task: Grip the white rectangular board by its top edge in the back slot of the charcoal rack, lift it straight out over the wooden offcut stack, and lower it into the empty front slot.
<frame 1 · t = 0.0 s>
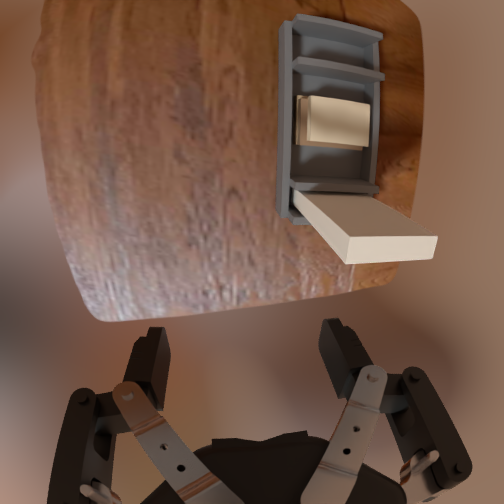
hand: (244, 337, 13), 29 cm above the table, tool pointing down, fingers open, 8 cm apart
white rectangular board: (323, 194, 40), point 1 cm above the table, touching rack
rack: (324, 119, 36), on the table
offcuts: (327, 122, 35), point 1 cm above the table, touching rack
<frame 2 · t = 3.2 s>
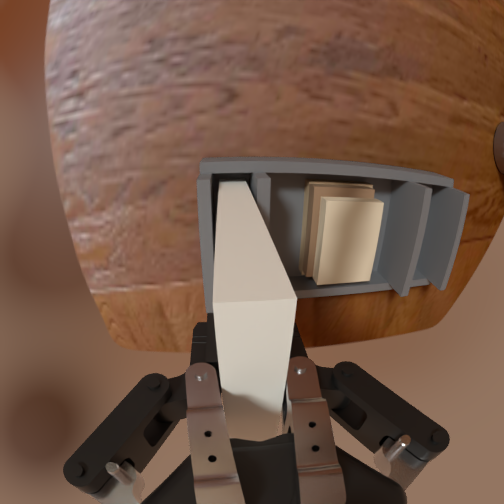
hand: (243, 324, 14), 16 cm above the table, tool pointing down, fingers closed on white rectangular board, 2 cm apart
white rectangular board: (232, 227, 28), point 1 cm above the table, touching gripper, rack
rack: (333, 222, 30), on the table
offcuts: (332, 225, 29), point 1 cm above the table, touching rack
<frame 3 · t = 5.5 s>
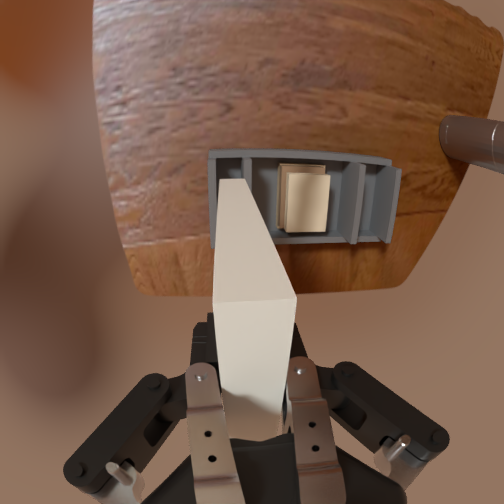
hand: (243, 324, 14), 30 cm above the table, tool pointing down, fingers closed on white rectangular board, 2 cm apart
white rectangular board: (232, 227, 28), point 15 cm above the table, touching gripper
rack: (300, 193, 43), on the table
offcuts: (298, 194, 42), point 1 cm above the table, touching rack
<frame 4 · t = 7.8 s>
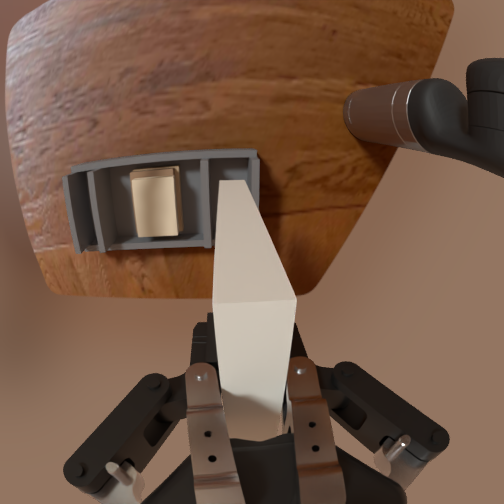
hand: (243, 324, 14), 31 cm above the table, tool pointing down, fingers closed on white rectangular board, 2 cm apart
white rectangular board: (232, 229, 28), point 16 cm above the table, touching gripper
rack: (163, 196, 41), on the table
offcuts: (159, 198, 40), point 1 cm above the table, touching rack
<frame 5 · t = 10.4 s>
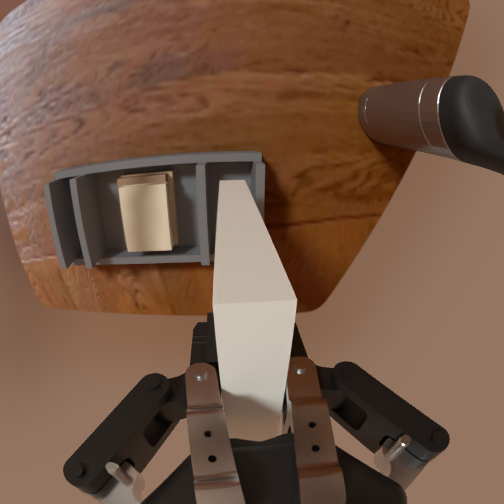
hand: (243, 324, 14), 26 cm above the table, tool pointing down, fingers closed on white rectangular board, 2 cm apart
white rectangular board: (232, 229, 28), point 11 cm above the table, touching gripper
rack: (156, 205, 36), on the table
offcuts: (151, 207, 36), point 1 cm above the table, touching rack
when the fingers open (18 cm above the table, at t = 12.4 s): white rectangular board drops 2 cm, resting on rack.
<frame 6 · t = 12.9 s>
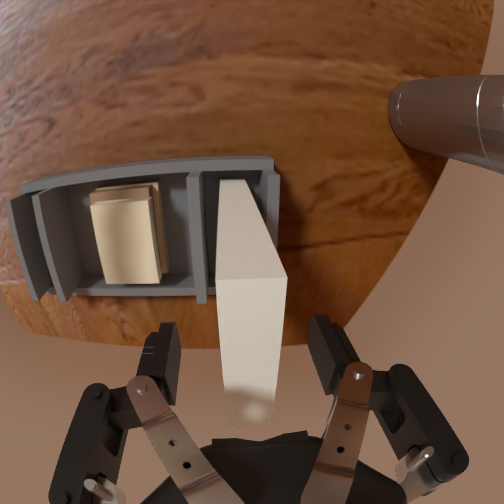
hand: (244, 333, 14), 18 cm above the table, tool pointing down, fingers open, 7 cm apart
white rectangular board: (232, 224, 29), point 1 cm above the table, touching rack
rack: (141, 223, 29), on the table
offcuts: (134, 226, 28), point 1 cm above the table, touching rack
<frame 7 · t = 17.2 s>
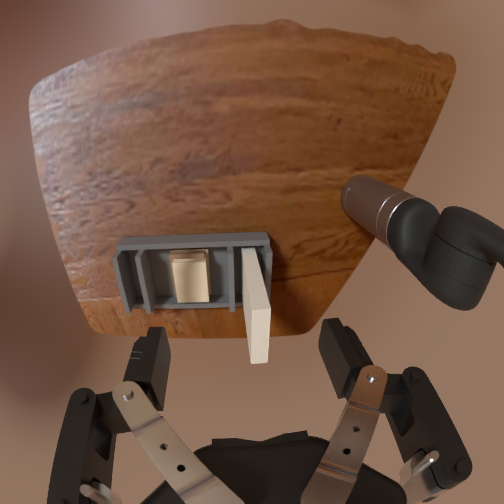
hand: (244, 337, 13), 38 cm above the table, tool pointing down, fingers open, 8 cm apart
white rectangular board: (247, 268, 54), point 1 cm above the table, touching rack
rack: (194, 267, 54), on the table
offcuts: (191, 269, 53), point 1 cm above the table, touching rack
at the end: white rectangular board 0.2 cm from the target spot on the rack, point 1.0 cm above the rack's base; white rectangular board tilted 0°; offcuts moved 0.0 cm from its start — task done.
